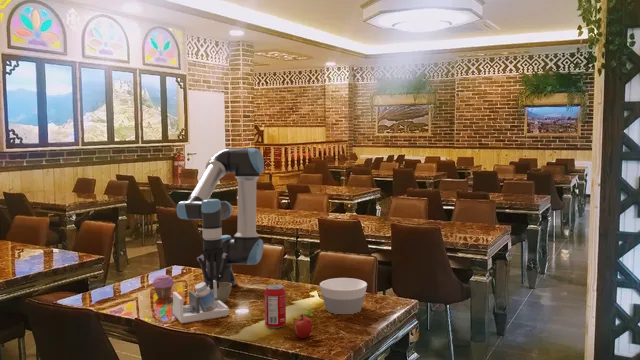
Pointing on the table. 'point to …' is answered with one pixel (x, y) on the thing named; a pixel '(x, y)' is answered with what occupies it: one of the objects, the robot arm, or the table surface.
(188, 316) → the white open tray
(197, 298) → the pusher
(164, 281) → the cupcake
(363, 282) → the bowl
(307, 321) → the apple
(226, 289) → the flower pot
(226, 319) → the table surface
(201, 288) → the pill bottle
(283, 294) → the soda can
